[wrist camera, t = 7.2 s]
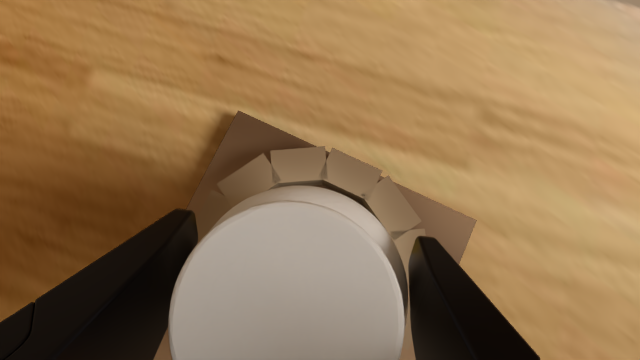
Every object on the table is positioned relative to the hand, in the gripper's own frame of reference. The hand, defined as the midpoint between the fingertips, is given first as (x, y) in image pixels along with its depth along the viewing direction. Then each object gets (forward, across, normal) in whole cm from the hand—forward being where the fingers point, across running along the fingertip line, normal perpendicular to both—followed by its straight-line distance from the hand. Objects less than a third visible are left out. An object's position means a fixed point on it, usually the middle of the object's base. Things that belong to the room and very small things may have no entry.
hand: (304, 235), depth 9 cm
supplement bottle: (+4, 0, +6) cm, 7 cm away
